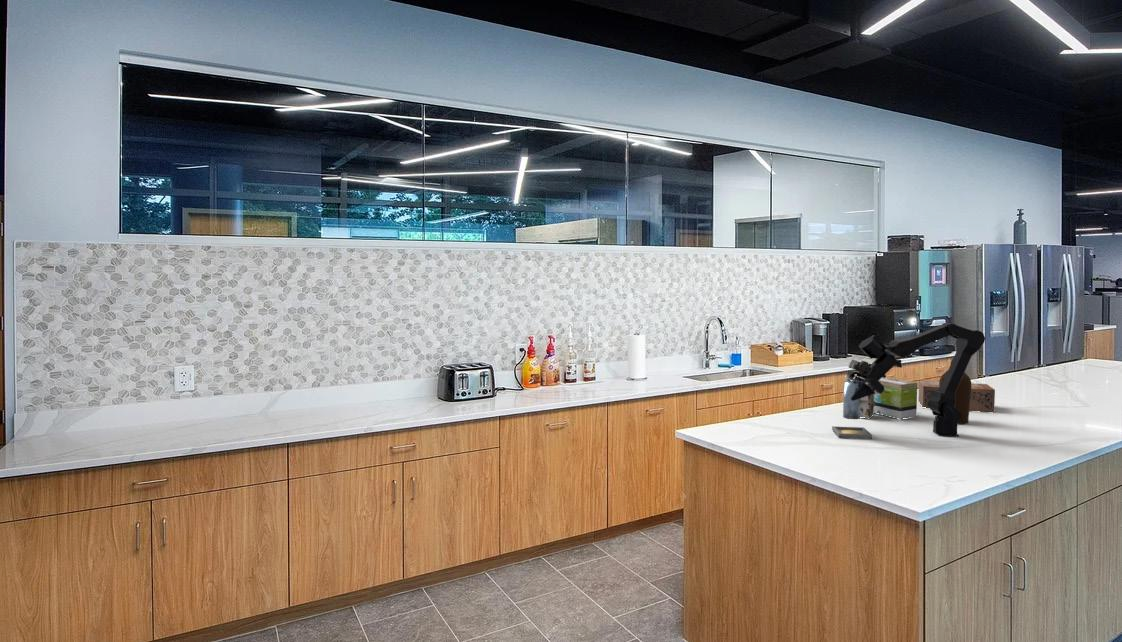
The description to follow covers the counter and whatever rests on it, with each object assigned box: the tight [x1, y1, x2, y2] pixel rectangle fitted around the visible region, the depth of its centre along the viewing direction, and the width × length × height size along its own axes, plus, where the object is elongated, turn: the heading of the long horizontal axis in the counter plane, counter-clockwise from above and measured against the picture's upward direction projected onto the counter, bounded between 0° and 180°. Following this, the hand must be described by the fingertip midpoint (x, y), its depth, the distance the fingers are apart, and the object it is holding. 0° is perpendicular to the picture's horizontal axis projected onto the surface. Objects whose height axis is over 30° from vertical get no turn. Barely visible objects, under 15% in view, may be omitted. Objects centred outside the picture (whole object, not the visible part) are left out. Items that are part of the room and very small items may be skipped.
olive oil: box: [938, 357, 972, 425], centre depth 240 cm, size 11×11×25 cm
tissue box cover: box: [917, 380, 996, 414], centre depth 266 cm, size 26×14×10 cm, turn 66°
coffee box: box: [860, 394, 874, 419], centre depth 251 cm, size 9×6×16 cm
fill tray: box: [831, 425, 873, 440], centre depth 223 cm, size 11×11×2 cm
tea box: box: [874, 376, 918, 419], centre depth 252 cm, size 15×10×15 cm, turn 25°
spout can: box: [842, 374, 861, 420], centre depth 222 cm, size 6×6×16 cm
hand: (848, 398), depth 222 cm, fingers closed on spout can, 6 cm apart
